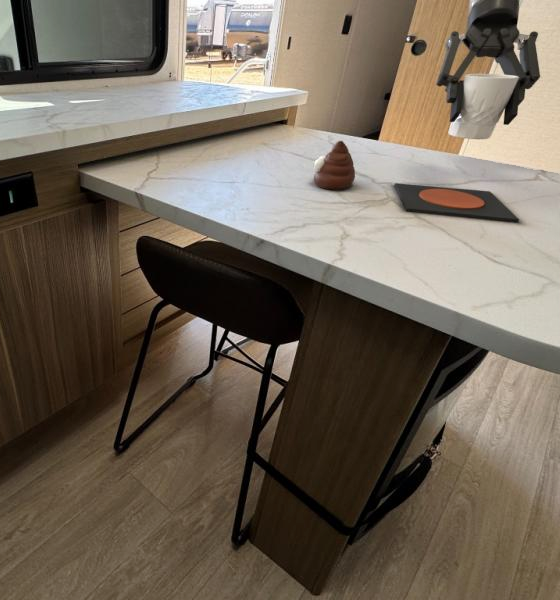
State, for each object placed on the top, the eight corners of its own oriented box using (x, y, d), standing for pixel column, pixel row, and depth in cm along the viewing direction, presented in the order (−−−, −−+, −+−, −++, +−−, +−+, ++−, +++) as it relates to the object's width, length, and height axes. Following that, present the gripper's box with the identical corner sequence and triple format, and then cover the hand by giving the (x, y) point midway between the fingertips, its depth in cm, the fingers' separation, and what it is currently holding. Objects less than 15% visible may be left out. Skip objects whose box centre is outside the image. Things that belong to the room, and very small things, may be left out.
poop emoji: (346, 193, 86) (358, 147, 81) (305, 186, 90) (314, 142, 85) (356, 181, 93) (368, 137, 88) (318, 175, 97) (327, 133, 92)
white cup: (492, 134, 79) (517, 74, 73) (495, 142, 73) (522, 78, 68) (444, 130, 82) (465, 72, 77) (443, 137, 77) (465, 76, 71)
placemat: (488, 194, 86) (490, 189, 86) (518, 222, 73) (520, 217, 73) (394, 185, 91) (395, 181, 90) (405, 211, 78) (407, 206, 78)
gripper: (545, 27, 78) (538, 135, 74) (423, 27, 83) (410, 128, 79) (574, -10, 71) (567, 107, 67) (439, -7, 76) (425, 101, 72)
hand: (482, 118), depth 73 cm, fingers closed on white cup, 8 cm apart
